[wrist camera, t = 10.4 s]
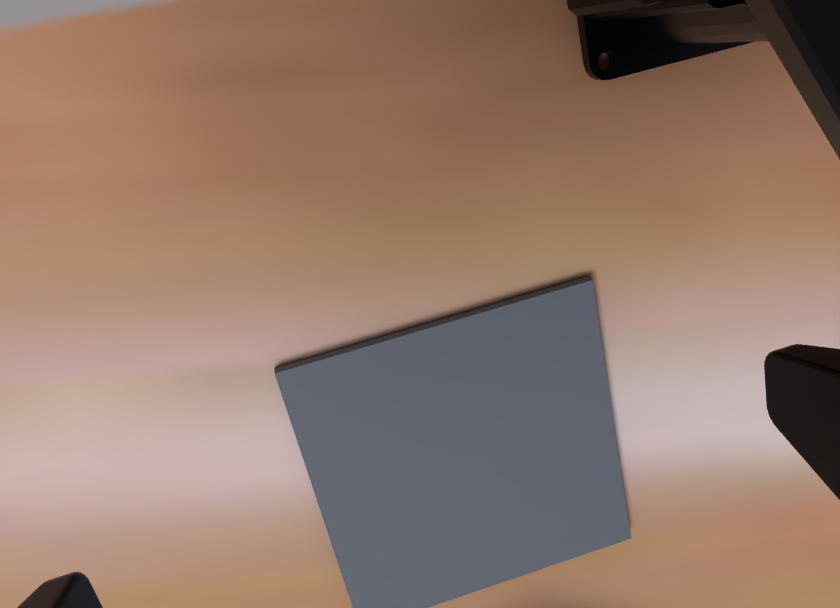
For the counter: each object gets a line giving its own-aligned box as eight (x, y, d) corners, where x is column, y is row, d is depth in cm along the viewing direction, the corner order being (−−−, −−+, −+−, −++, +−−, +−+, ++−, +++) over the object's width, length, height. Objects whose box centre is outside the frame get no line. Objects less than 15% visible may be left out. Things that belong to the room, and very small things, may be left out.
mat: (587, 276, 23) (592, 279, 22) (625, 531, 26) (631, 538, 26) (274, 368, 21) (274, 373, 21) (359, 621, 25) (360, 630, 25)
